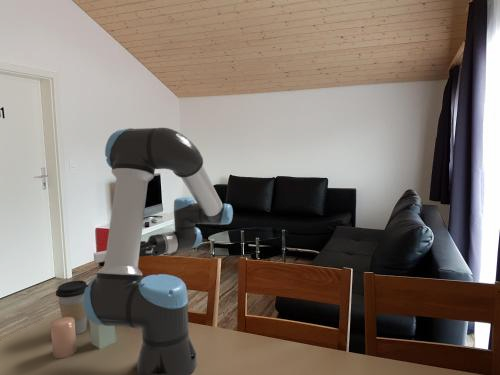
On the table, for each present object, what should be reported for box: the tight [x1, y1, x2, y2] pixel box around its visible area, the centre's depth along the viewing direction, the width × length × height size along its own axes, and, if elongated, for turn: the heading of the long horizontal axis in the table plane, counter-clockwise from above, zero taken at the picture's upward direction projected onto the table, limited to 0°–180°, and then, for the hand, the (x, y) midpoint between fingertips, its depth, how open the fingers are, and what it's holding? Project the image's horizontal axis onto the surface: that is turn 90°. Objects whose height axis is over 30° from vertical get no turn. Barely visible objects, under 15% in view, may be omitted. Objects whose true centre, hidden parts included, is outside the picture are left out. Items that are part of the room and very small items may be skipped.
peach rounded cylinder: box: [49, 317, 78, 359], centre depth 105 cm, size 6×6×9 cm
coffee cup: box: [55, 280, 88, 336], centre depth 117 cm, size 9×9×15 cm
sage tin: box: [87, 317, 117, 350], centre depth 110 cm, size 5×5×8 cm
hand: (95, 258), depth 120 cm, fingers closed
